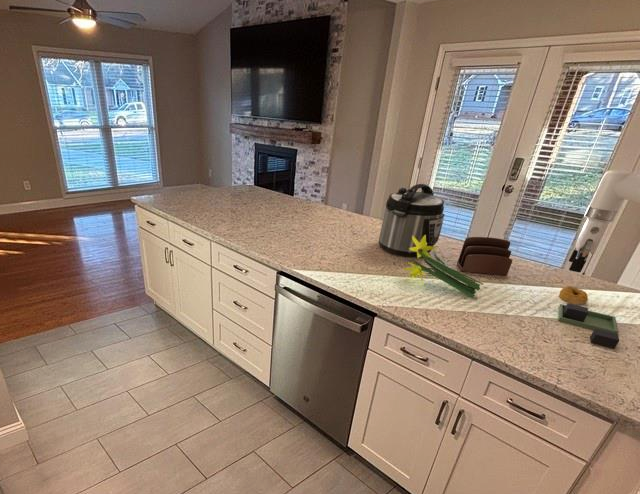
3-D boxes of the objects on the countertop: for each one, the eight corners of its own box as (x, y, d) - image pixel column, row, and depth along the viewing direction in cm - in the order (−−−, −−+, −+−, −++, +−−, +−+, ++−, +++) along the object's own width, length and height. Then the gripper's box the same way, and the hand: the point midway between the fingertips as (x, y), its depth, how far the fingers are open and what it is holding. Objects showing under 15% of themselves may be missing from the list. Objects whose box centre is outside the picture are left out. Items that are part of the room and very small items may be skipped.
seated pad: (582, 317, 155) (587, 307, 152) (583, 322, 151) (588, 312, 149) (562, 312, 157) (567, 302, 155) (562, 317, 154) (567, 307, 152)
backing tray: (612, 321, 154) (615, 316, 153) (615, 337, 144) (618, 331, 143) (557, 308, 161) (560, 303, 160) (557, 322, 152) (560, 317, 150)
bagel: (560, 303, 165) (566, 292, 162) (555, 293, 174) (560, 282, 171) (589, 308, 162) (595, 297, 160) (582, 297, 171) (587, 287, 168)
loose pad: (611, 344, 140) (618, 334, 138) (613, 350, 136) (619, 340, 134) (589, 338, 143) (594, 328, 141) (589, 344, 139) (595, 334, 137)
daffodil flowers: (466, 306, 161) (389, 262, 173) (463, 311, 175) (392, 269, 186) (494, 269, 158) (414, 226, 169) (488, 276, 172) (414, 236, 183)
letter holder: (456, 263, 198) (466, 234, 190) (500, 268, 196) (511, 238, 188) (461, 271, 190) (471, 241, 182) (507, 276, 187) (519, 246, 180)
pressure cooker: (390, 261, 198) (406, 191, 180) (365, 241, 221) (377, 178, 203) (446, 258, 203) (466, 191, 186) (416, 239, 226) (432, 178, 209)
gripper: (617, 222, 119) (588, 277, 129) (612, 210, 131) (586, 261, 141) (587, 218, 122) (560, 272, 132) (585, 206, 135) (561, 256, 144)
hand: (574, 266), depth 136 cm, fingers open, 9 cm apart
